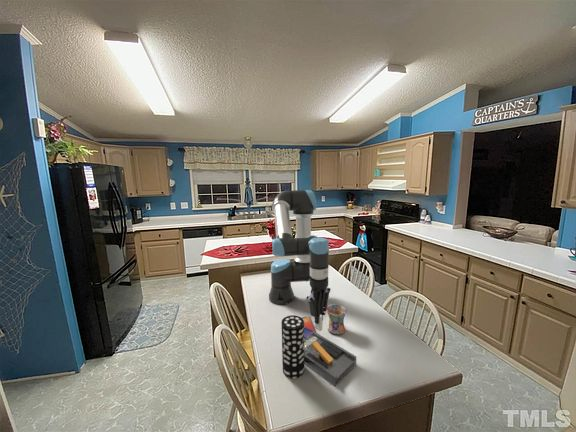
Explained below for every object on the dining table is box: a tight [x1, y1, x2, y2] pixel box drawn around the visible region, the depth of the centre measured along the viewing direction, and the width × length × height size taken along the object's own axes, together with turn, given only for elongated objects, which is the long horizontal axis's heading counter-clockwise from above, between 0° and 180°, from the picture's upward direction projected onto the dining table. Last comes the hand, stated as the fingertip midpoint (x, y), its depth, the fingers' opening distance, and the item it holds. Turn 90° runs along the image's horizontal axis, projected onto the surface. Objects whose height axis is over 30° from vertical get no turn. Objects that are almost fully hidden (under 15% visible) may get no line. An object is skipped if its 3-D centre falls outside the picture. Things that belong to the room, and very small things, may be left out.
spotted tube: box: [281, 314, 305, 379], centre depth 90 cm, size 8×8×20 cm
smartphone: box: [301, 316, 317, 339], centre depth 117 cm, size 7×15×1 cm, turn 9°
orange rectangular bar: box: [312, 341, 333, 365], centre depth 94 cm, size 9×2×1 cm, turn 44°
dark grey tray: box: [304, 331, 357, 387], centre depth 97 cm, size 22×14×4 cm, turn 44°
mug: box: [326, 303, 347, 335], centre depth 115 cm, size 12×9×11 cm
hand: (318, 328), depth 101 cm, fingers closed
